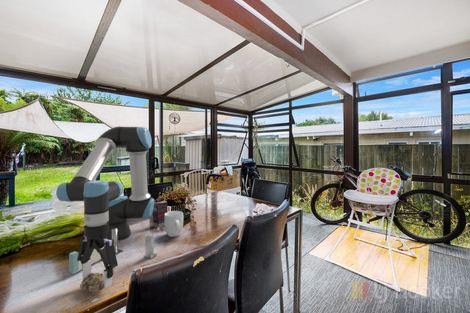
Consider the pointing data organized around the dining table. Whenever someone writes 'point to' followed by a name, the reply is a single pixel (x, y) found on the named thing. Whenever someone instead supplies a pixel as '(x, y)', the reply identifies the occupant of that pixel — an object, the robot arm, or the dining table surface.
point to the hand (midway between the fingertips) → (97, 282)
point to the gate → (76, 265)
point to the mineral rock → (93, 282)
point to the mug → (173, 223)
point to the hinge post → (115, 241)
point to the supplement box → (159, 213)
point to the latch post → (150, 247)
